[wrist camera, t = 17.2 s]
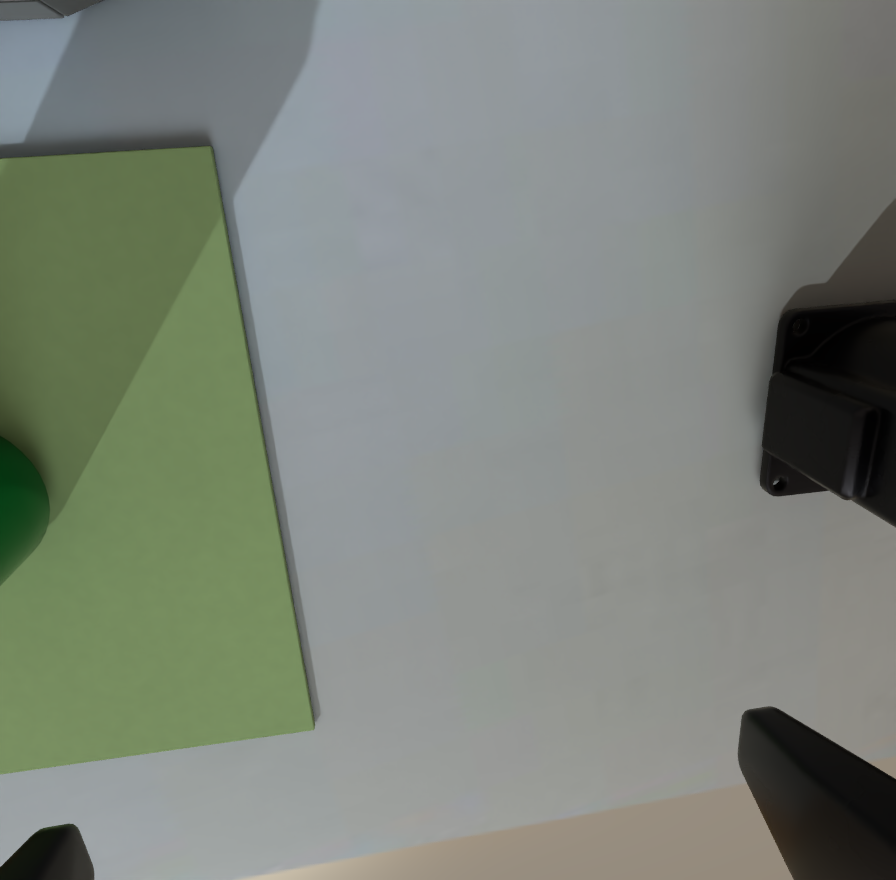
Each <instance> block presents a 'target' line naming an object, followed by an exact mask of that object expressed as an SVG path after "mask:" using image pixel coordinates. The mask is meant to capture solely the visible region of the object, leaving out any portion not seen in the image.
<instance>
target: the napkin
mask: <svg viewBox="0 0 896 880" xmlns="http://www.w3.org/2000/svg"><path fill="white" fill-rule="evenodd" d="M0 436H2V437H3V438H5V439H7V440H8V441H10V442H11V443H12V444H13V445H15V446H16V447H17V448H18V449H19V450H21V451H22V452H23V453H24V454H25V455H26V457H27V458H28V459H29V460H30V461H31V462H32V463H33V465H34V466H35V468H36V469H37V471H38V472H39V474H40V476H41V478H42V480H43V482H44V484H45V486H46V490H47V493H48V497H49V504H50V517H49V524H48V527H47V531H46V533H45V535H44V537H43V539H42V541H41V543H40V544H39V545H38V547H37V548H36V549H35V550H34V552H33V553H32V554H31V555H30V556H29V557H28V558H27V559H26V560H25V561H24V562H23V563H22V564H21V565H20V566H19V567H18V568H17V569H16V570H15V571H14V573H13V574H12V575H11V576H10V577H9V578H8V579H7V580H6V581H5V582H4V583H3V584H2V585H1V586H0V774H6V773H13V772H20V771H27V770H34V769H42V768H49V767H56V766H63V765H70V764H77V763H84V762H91V761H98V760H105V759H112V758H119V757H126V756H133V755H140V754H148V753H155V752H162V751H169V750H176V749H183V748H190V747H197V746H204V745H211V744H218V743H225V742H232V741H239V740H246V739H254V738H261V737H268V736H275V735H282V734H289V733H296V732H303V731H310V730H314V728H315V722H314V717H313V711H312V705H311V700H310V694H309V688H308V683H307V677H306V671H305V666H304V660H303V655H302V649H301V643H300V638H299V632H298V626H297V621H296V615H295V609H294V604H293V598H292V592H291V587H290V581H289V576H288V570H287V564H286V559H285V553H284V547H283V542H282V536H281V530H280V525H279V519H278V513H277V508H276V502H275V497H274V491H273V485H272V480H271V474H270V468H269V463H268V457H267V451H266V446H265V440H264V434H263V429H262V423H261V417H260V412H259V406H258V401H257V395H256V389H255V384H254V378H253V372H252V367H251V361H250V355H249V350H248V344H247V338H246V333H245V327H244V322H243V316H242V310H241V305H240V299H239V293H238V288H237V282H236V276H235V271H234V265H233V259H232V254H231V248H230V242H229V237H228V231H227V226H226V220H225V214H224V209H223V203H222V197H221V192H220V186H219V180H218V175H217V169H216V163H215V158H214V152H213V148H212V147H211V146H198V147H181V148H165V149H148V150H131V151H114V152H97V153H81V154H64V155H47V156H30V157H14V158H0Z"/></svg>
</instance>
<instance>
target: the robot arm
mask: <svg viewBox="0 0 896 880" xmlns="http://www.w3.org/2000/svg"><path fill="white" fill-rule="evenodd" d="M798 319H799V320H800V325H799V328H798V329H797V330H796V331H794V332H793V325H794V323H795V322H796V321H797V320H798ZM762 447H763V448H764V449H763V458H762V466H761V475H760V486H761V487H762V489H763V490H765V491H766V492H768V493H769V494H771V495H772V496H786V495H795V494H803V493H812V492H820V491H831V492H832V493H834V494H835V495H837V496H839V497H840V498H842V499H844V500H852V501H853V502H855V503H857V504H858V505H860V506H862V507H863V508H865V509H866V510H868V511H870V512H871V513H873V514H875V515H876V516H878V517H880V518H881V519H883V520H885V521H886V522H888V523H889V524H891V525H893V526H894V527H896V300H889V301H878V302H866V303H855V304H844V305H833V306H821V307H810V308H799V309H792V310H789V311H788V312H786V313H785V314H784V315H783V316H782V317H781V319H780V321H779V324H778V330H777V339H776V347H775V356H774V364H773V373H772V377H771V379H770V381H769V389H768V397H767V406H766V415H765V423H764V432H763V440H762ZM779 477H780V480H779V482H778V483H777V484H775V485H773V483H774V481H775V480H776V479H777V478H779ZM738 761H739V765H740V768H741V771H742V773H743V775H744V777H745V780H746V782H747V784H748V786H749V788H750V790H751V792H752V794H753V796H754V798H755V800H756V802H757V804H758V807H759V809H760V811H761V813H762V815H763V817H764V819H765V821H766V823H767V825H768V828H769V830H770V832H771V834H772V836H773V838H774V840H775V842H776V844H777V846H778V848H779V850H780V853H781V854H782V857H783V859H784V861H785V863H786V865H787V867H788V869H789V871H790V873H791V875H792V877H793V879H794V880H896V779H895V778H893V777H891V776H890V775H888V774H886V773H885V772H883V771H881V770H880V769H878V768H876V767H875V766H873V765H871V764H870V763H868V762H866V761H865V760H863V759H861V758H860V757H858V756H856V755H855V754H853V753H851V752H850V751H848V750H846V749H845V748H843V747H841V746H840V745H838V744H836V743H835V742H833V741H831V740H829V739H828V738H826V737H824V736H823V735H821V734H819V733H818V732H816V731H814V730H813V729H811V728H809V727H808V726H806V725H804V724H803V723H801V722H799V721H798V720H796V719H794V718H793V717H791V716H789V715H788V714H786V713H784V712H783V711H781V710H779V709H777V708H775V707H770V706H768V707H761V708H756V709H750V710H747V711H745V712H744V714H743V715H742V719H741V728H740V737H739V746H738ZM0 880H94V868H93V864H92V862H91V859H90V856H89V854H88V851H87V849H86V846H85V844H84V841H83V839H82V836H81V834H80V831H79V829H78V827H76V826H75V825H73V824H64V825H58V826H52V827H47V828H43V829H40V830H39V831H37V832H36V833H34V834H33V835H32V836H31V837H30V838H29V839H28V840H27V841H26V842H25V843H24V844H23V845H22V846H21V847H20V848H19V849H18V850H17V851H16V852H15V853H14V854H13V855H12V856H11V857H10V858H9V859H8V860H7V861H6V862H5V863H4V864H3V865H2V866H1V867H0Z"/></svg>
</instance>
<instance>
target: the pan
mask: <svg viewBox="0 0 896 880" xmlns="http://www.w3.org/2000/svg"><path fill="white" fill-rule="evenodd" d="M101 1H103V0H0V21H8V20H32V19H56V18H64V16H69V15H72V14H74V13H76V12H78V11H81V10H83V9H85V8H87V7H90V6H92V5H94V4H96V3H99V2H101Z"/></svg>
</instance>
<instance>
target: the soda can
mask: <svg viewBox="0 0 896 880" xmlns="http://www.w3.org/2000/svg"><path fill="white" fill-rule="evenodd" d="M49 517H50V504H49V497H48V493H47V490H46V486H45V484H44V482H43V480H42V478H41V476H40V474H39V472H38V471H37V469H36V468H35V466H34V465H33V463H32V462H31V461H30V460H29V459H28V458H27V457H26V455H25V454H24V453H23V452H22V451H21V450H19V449H18V448H17V447H16V446H15V445H13V444H12V443H11V442H10V441H8V440H7V439H5V438H3V437H2V436H0V586H1V585H2V584H3V583H4V582H5V581H6V580H7V579H8V578H9V577H10V576H11V575H12V574H13V573H14V571H15V570H16V569H17V568H18V567H19V566H20V565H21V564H22V563H23V562H24V561H25V560H26V559H27V558H28V557H29V556H30V555H31V554H32V553H33V552H34V550H35V549H36V548H37V547H38V545H39V544H40V543H41V541H42V539H43V537H44V535H45V533H46V531H47V527H48V524H49Z"/></svg>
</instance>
